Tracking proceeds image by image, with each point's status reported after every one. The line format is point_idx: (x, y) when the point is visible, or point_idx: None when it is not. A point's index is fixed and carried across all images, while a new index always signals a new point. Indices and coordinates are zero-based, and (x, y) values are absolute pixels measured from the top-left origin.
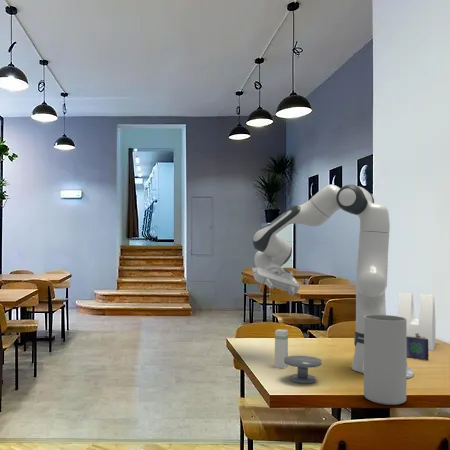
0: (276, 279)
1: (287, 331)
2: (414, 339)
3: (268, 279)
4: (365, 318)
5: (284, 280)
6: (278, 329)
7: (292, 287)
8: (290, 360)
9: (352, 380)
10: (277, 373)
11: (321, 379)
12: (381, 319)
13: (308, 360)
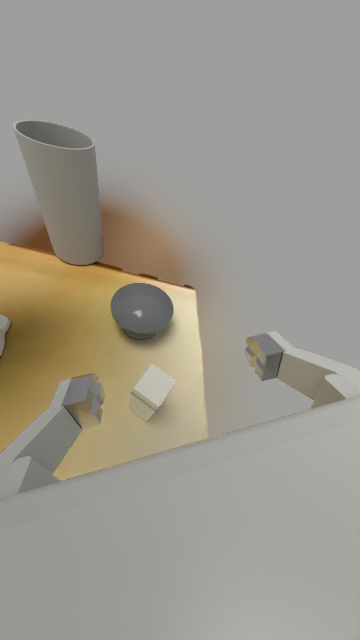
0: (265, 427)
1: (136, 383)
2: None
3: (345, 384)
4: (93, 148)
5: (92, 563)
6: (160, 401)
7: (11, 462)
8: (164, 306)
9: (62, 306)
10: (166, 361)
11: (109, 320)
12: (35, 150)
13: (135, 300)
